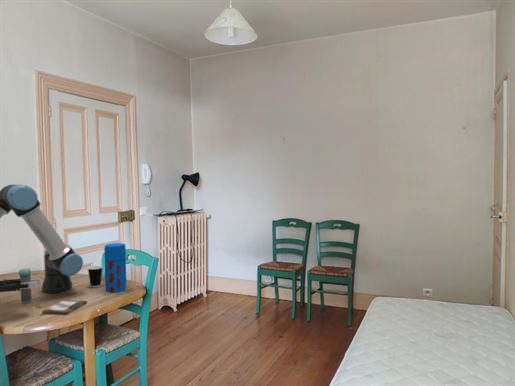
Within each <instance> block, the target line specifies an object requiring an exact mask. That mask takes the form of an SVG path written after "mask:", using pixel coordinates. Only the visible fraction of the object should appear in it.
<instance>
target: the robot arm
mask: <svg viewBox="0 0 515 386" xmlns="http://www.w3.org/2000/svg"><path fill="white" fill-rule="evenodd" d="M38 199H39V198H38V194H37V191H36V190H35V189H34V188H33V187H31V186H29V185H27V184H8V185H6V186H4V187H2V189H0V219H2V217H3V216H5V215H8V214H9V213H11V212H14V214H15V216H16V217H18V218H22V219H23V220H24V222H25V223H26V224H27V226H28V227H29V229H30V230H31V231H32V233H33V234H34V235H35V237H36V238H37V239H38V241H39V242H40V243H41V245H42V246H43V248H44V249H45V251H44V255H43V257H44V280H43V283H42V279H41V278H33V279H32V278H31V282H22V283H21V284H20V278H12V279H7V278H6V279H2V280H0V293H7V292H16V291H17V292H21V289H28V288H31V289H37V288H38V286H41V285H42V286H41V292H42V293H45V294H57V293H63V292H68V291H70V290H72V289H73V288H74V287H73V285H74V284H73V282H72V280H71V276H75V275H76V274H78V273H79V272H80V271H81V269H82V268H83V264H84V261H83V257H82V256H81V255H80V254H78V253H76V252H75V251H74V250H73V248H72V246H71V245H69V244H68V245H67V244H66V243H65V242H64V241H63V239H62V238H61V236H60V235H59V233H58V231H56V230H55V228H54V226H53V224H51V222H50V221H49V219H48V218H47V216H46V215H45V213H44V212H43V210H41V206H42V205H41V202H40V201H39V200H38Z"/></svg>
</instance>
